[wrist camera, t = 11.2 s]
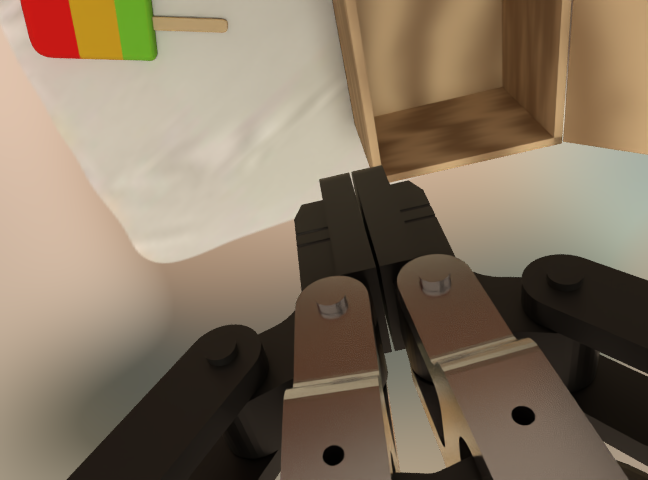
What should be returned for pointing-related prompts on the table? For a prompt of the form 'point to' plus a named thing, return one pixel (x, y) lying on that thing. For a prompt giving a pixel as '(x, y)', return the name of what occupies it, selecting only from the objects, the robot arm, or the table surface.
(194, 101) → the table surface
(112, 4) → the popsicle
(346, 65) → the brown wooden box
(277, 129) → the table surface
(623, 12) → the flap
